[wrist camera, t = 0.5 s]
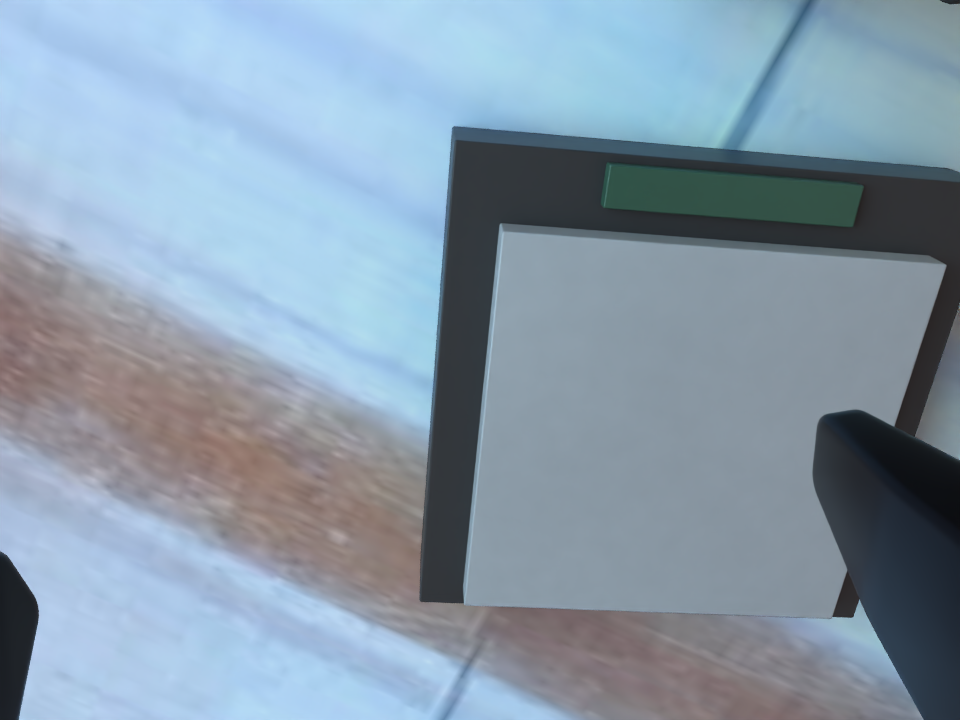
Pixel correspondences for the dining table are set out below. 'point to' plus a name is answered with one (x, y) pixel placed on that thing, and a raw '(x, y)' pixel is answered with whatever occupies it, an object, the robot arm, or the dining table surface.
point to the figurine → (951, 1)
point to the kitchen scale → (668, 367)
